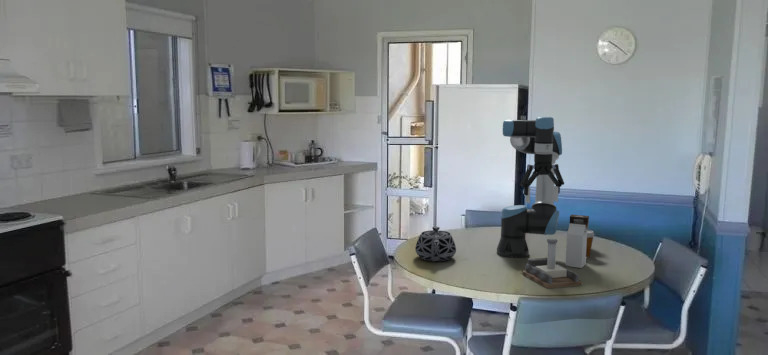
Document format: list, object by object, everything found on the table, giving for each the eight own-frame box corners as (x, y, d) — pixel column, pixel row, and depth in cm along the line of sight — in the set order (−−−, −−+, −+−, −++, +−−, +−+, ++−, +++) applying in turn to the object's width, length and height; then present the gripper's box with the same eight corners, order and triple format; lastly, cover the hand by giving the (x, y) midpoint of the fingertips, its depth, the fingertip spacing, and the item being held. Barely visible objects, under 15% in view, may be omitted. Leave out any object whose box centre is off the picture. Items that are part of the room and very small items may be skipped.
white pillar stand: (535, 273, 264) (536, 238, 262) (556, 271, 267) (557, 237, 265) (545, 278, 257) (546, 242, 255) (566, 276, 260) (568, 241, 258)
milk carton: (581, 268, 278) (583, 226, 276) (565, 266, 282) (567, 224, 279) (585, 264, 284) (587, 223, 282) (569, 262, 288) (571, 221, 285)
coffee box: (567, 247, 315) (569, 216, 313) (569, 244, 321) (570, 213, 319) (586, 249, 312) (588, 217, 309) (587, 246, 317) (589, 215, 315)
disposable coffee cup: (594, 258, 294) (595, 233, 293) (573, 257, 296) (574, 232, 295) (592, 253, 304) (593, 229, 302) (571, 252, 306) (572, 228, 304)
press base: (522, 274, 269) (522, 259, 268) (555, 271, 274) (555, 256, 273) (546, 288, 250) (547, 272, 249) (581, 285, 255) (582, 269, 254)
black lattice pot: (453, 249, 310) (454, 220, 308) (457, 267, 279) (458, 234, 277) (415, 249, 311) (415, 219, 309) (415, 266, 280) (415, 233, 278)
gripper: (521, 155, 261) (519, 204, 264) (573, 153, 268) (571, 201, 271) (513, 153, 268) (511, 201, 271) (564, 151, 275) (562, 198, 278)
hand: (541, 201), depth 271 cm, fingers open, 13 cm apart
